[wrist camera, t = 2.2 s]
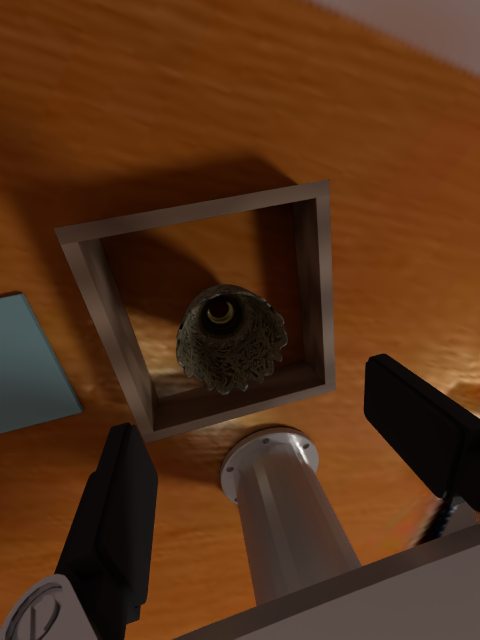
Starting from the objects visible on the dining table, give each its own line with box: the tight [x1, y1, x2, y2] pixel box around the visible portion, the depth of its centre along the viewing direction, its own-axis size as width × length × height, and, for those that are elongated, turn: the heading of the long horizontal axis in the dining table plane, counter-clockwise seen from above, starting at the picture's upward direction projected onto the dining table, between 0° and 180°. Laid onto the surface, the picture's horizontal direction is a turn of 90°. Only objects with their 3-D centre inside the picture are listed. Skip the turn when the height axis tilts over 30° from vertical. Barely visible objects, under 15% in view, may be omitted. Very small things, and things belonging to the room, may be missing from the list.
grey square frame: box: [53, 179, 336, 443], centre depth 22 cm, size 18×18×4 cm
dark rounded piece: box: [176, 284, 288, 395], centre depth 21 cm, size 8×7×8 cm
